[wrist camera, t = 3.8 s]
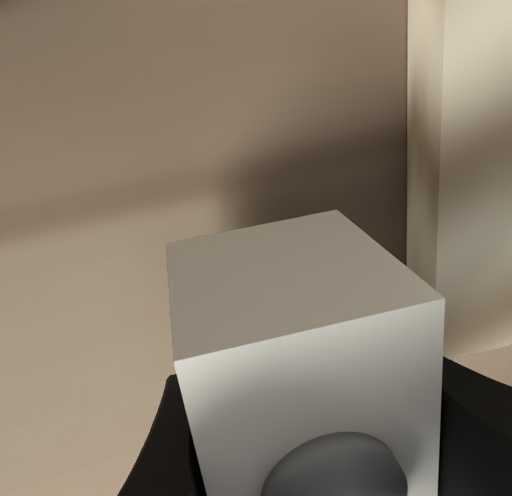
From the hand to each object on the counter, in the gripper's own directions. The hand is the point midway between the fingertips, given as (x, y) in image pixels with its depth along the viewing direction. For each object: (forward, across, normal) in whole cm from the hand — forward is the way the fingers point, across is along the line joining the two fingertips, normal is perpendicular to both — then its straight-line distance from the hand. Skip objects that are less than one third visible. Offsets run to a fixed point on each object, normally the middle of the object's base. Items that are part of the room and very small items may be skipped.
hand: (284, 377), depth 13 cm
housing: (+2, 0, 0) cm, 2 cm away
